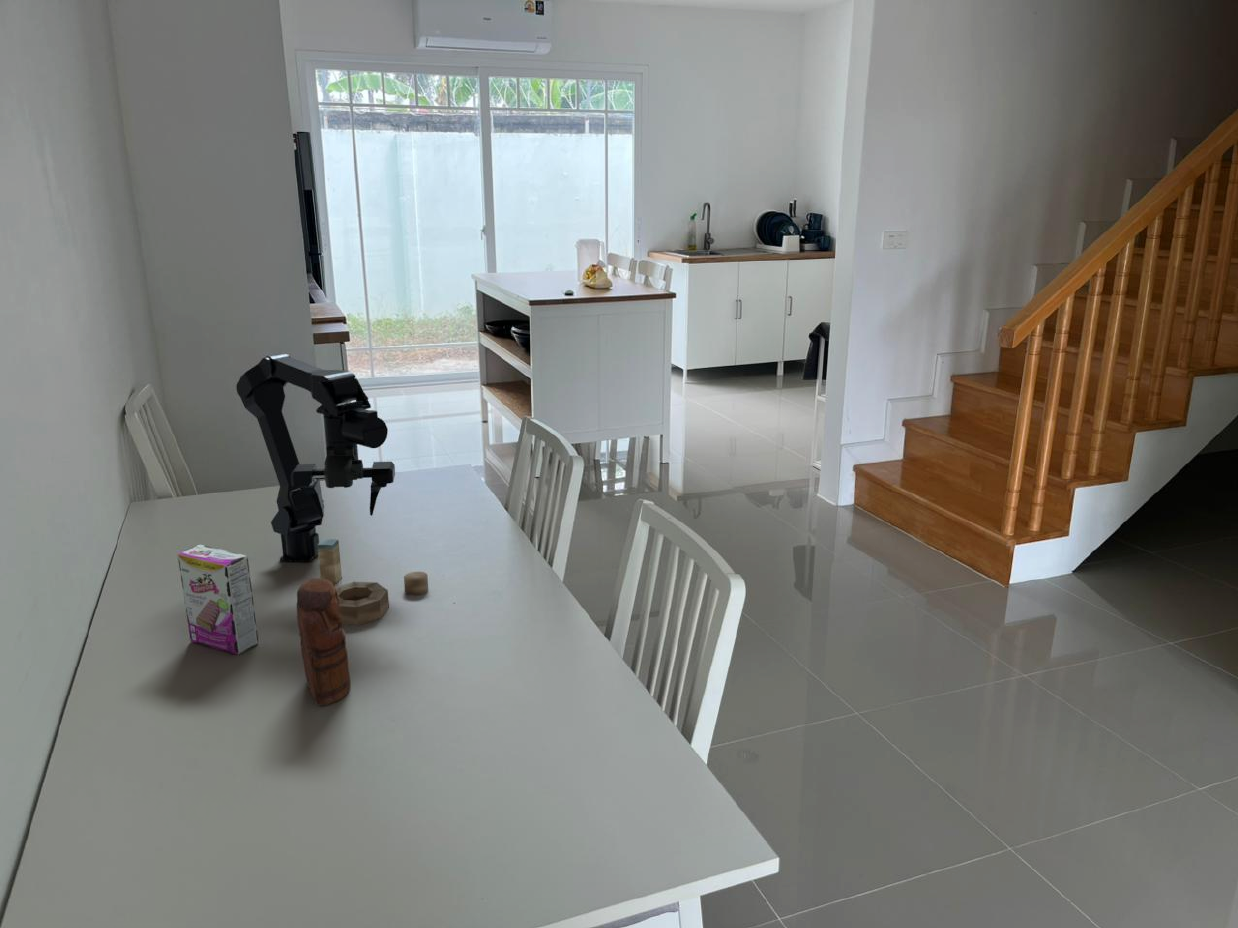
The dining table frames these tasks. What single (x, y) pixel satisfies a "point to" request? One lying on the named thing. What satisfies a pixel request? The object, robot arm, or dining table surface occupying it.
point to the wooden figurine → (322, 641)
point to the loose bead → (416, 583)
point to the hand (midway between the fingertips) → (347, 515)
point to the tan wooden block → (329, 560)
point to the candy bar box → (218, 598)
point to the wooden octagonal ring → (362, 602)
